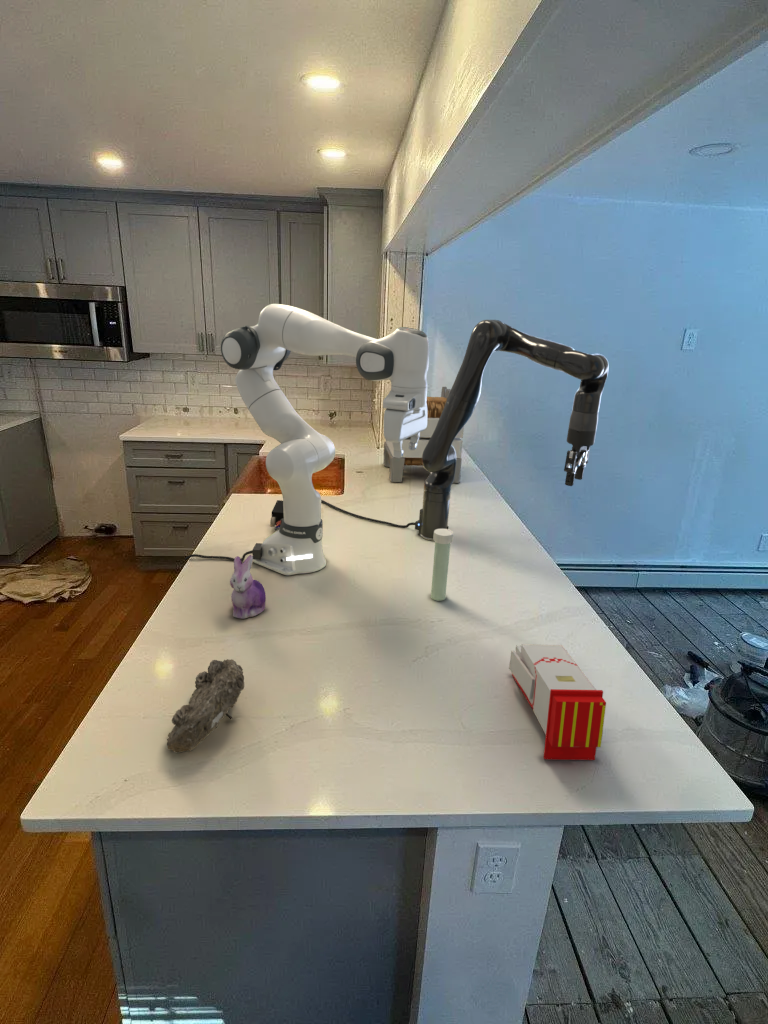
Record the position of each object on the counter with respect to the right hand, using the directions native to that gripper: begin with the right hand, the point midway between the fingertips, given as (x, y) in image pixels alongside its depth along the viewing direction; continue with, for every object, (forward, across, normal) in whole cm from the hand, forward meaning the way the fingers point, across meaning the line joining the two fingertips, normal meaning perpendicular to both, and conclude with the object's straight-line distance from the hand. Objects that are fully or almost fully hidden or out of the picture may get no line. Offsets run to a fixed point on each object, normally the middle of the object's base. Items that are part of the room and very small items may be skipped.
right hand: (573, 482), depth 165 cm
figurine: (+29, +76, -55) cm, 98 cm away
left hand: (-11, +45, -30) cm, 55 cm away
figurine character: (+29, +28, -91) cm, 100 cm away
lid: (+10, +38, -21) cm, 45 cm away
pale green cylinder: (+29, +38, -21) cm, 52 cm away
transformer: (+29, -65, -92) cm, 116 cm away
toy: (+29, +65, +20) cm, 74 cm away
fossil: (+29, +108, -30) cm, 115 cm away
